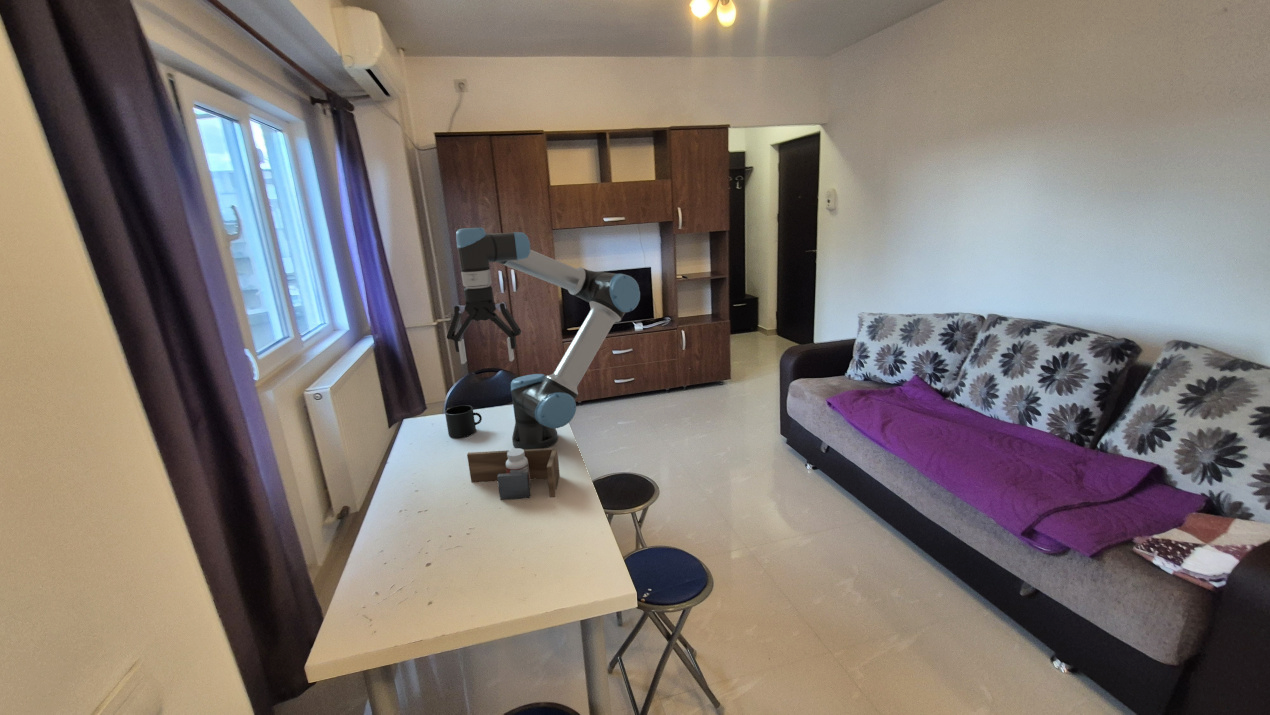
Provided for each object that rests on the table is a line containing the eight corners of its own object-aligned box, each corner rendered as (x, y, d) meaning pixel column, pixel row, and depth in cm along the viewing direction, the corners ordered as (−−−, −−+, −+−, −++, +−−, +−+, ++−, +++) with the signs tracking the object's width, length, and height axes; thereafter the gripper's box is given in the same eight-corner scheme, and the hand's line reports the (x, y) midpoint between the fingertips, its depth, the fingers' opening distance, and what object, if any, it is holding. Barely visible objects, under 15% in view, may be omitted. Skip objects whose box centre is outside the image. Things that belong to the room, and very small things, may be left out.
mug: (483, 434, 185) (480, 410, 182) (448, 440, 182) (444, 416, 179) (483, 425, 193) (479, 402, 191) (449, 430, 190) (445, 407, 188)
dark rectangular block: (501, 496, 143) (498, 473, 141) (530, 495, 142) (527, 472, 141) (500, 499, 141) (497, 476, 139) (529, 498, 141) (526, 475, 139)
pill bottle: (511, 482, 150) (507, 447, 147) (533, 481, 150) (528, 446, 147) (506, 493, 144) (501, 457, 141) (528, 492, 144) (524, 456, 141)
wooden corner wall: (472, 480, 152) (468, 452, 150) (560, 475, 152) (557, 447, 150) (460, 501, 141) (455, 471, 139) (554, 496, 141) (551, 466, 139)
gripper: (426, 291, 138) (439, 367, 144) (520, 285, 138) (529, 362, 143) (437, 287, 145) (448, 360, 151) (526, 281, 145) (534, 355, 151)
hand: (488, 361), depth 147 cm, fingers open, 13 cm apart
